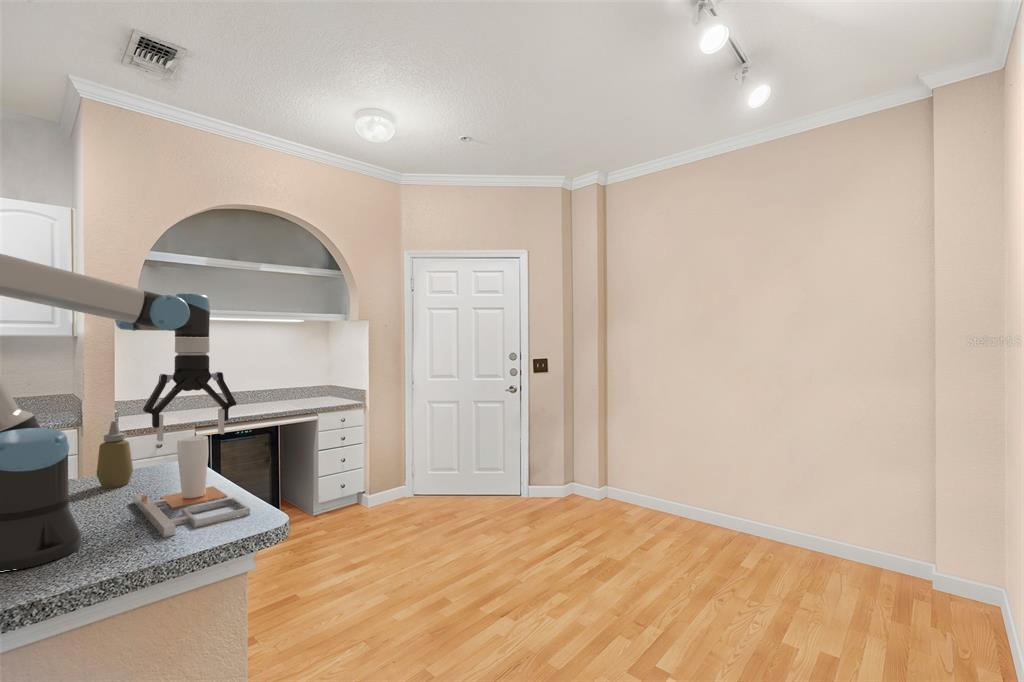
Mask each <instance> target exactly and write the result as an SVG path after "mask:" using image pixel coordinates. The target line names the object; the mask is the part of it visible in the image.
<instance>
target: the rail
mask: <svg viewBox="0 0 1024 682" xmlns="http://www.w3.org/2000/svg"><path fill="white" fill-rule="evenodd" d="M225 497H226V498H225ZM220 498H222V499H220ZM215 499H217V500H215ZM211 500H212V501H211ZM206 501H208V502H206ZM133 503H134V505H136V507H137V508H138V509H139V510H140V512H141V513H143V516H145V517H146V518H147V520H148V521H149V522H150V523H151V524H152V526H154V527H155V529H156V530H157V531H158V532H159V533H160V535H161V536H162V537H164V538H168V537H171V536H175V535H176V526H180V525H184V524H188V523H189V524H190V525H191V526H192V527H194V529H195V528H199V527H203V526H208V525H211V524H217V523H220V522H223V521H227V519H229V520H231V519H230V518H233V519H235V518H234V517H237V516H241V517H243V516H242V515H245V516H247V515H248V514H249V515H251V507H250V506H248V505H246V504H245V503H244V502H242V501H241V500H239V499H238V498H236V497H229V498H228V495H227V494H225V493H224V492H223V491H221V490H220V489H219V488H217V487H215V486H208V487H207V486H206V493H205V495H203V496H201V497H198V498H192V499H185V498H183V497H182V492H177V493H173V494H172V493H171V494H167V495H162V496H160V499H156V500H151V499H150V497H148V495H147V494H145V493H144V492H140V493H134V494H133ZM230 504H233V505H232V506H234V507H235V506H236V507H235V508H237V510H231V511H227V512H223V513H218V514H215V515H210V516H206V517H201V518H196V517H195V516H194V515H193V514H196V513H201V512H204V511H209V509H210V510H213V508H214V509H217V508H218V507H219V508H222V507H221V506H223V507H226V506H225V505H227V506H231V505H230ZM166 505H168V507H170V508H171V510H174V509H179V508H181V516H178V517H175V518H171V519H170V518H169V517H168V516H167V515H166V514H165V513H164V511H162V510H161V509H160V508H159V507H162V506H166ZM238 508H239V509H238ZM237 518H238V517H237Z"/></svg>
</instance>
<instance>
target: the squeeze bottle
mask: <svg viewBox="0 0 1024 682" xmlns="http://www.w3.org/2000/svg"><path fill="white" fill-rule="evenodd" d="M125 439H126V434H125V433H124V432H121V430H120V428H119V424H118V421H117V420H113V421H111V423H110V426H109V431H108V434H104V435H103V441H104V442H102V443H101V444H100V445H99V450H98V456H97V464H96V465H97V466H96V475H95V476H96V477H97V480H98V481H99V484H100V486H101V487H102V488H105V489H115V488H119V487H123V486H126V485H128V484H129V482H130V480H131V477H132V474H133V472H134V467H133V460H132V459H133V458H132V454H131V446H130V442H129V441H128V440H125Z"/></svg>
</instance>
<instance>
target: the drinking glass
mask: <svg viewBox="0 0 1024 682" xmlns="http://www.w3.org/2000/svg"><path fill="white" fill-rule="evenodd" d="M176 447H177V448H176V449H177V450H176V451H177V453H176V454H177V455H176V456H177V464H178V472H179V478H180V488H181V492H182V497H183V498H185V499H192V498H198V497H201V496H203V495H205V493H206V488H207V476H208V463H209V437H208V436H207V435H191V436H185V437H180V438H178V439H177V446H176ZM181 492H180V493H181Z"/></svg>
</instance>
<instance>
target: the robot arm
mask: <svg viewBox="0 0 1024 682" xmlns="http://www.w3.org/2000/svg"><path fill="white" fill-rule="evenodd" d="M0 296H1V297H4V298H5V297H6V298H11V299H15V300H21V301H25V302H30V303H35V304H40V305H44V306H49V307H53V308H54V307H55V308H58V309H63V310H69V311H72V312H78V313H83V314H87V315H92V316H98V317H102V318H107V319H111V320H114V322H115V324H116V327H117V328H118V329H120V330H122V331H123V330H126V331H133V332H136V331H169V332H172V331H174V353H176V355H175V356H174V372H173V374H165V373H160V374H159V375H158V376H159V377H158V383H157V384H156V386H155V387H154V390H153V391H152V393H151V395H150V396H149V397H148V400H147V401H146V403H145V405H144V406H143V408H142V411H143V412H144V413H147V414H150V415H151V426H152V427H153V428H154V429H155V428H156V441H158V442H164V414H163V413H162V411H164V410H165V408H166V407H167V406H168V405H169V404H170V403H171V402H172V400H174V398H175V397H177V395H179V394H180V393H181V392H183V391H184V392H191V391H201V390H203V391H204V392H206V394H208V395H209V396H210V397H211V398H212V400H214V401H215V402H216V403H217V404H218V405H219V406H220V407H221V408H218V409H217V411H218V412H217V433H218V434H220V435H225V422H226V421H229V409H230V408H231V407H235V406H236V405H237V401H236V400H235V398H234V396H233V394H232V393H231V390H230V388H229V387H228V386H227V384H226V381H225V379H224V378H225V377H224V373H223V372H222V371H216V372H213V373H211V372H210V356H209V353H210V323H211V322H210V320H211V319H210V316H211V315H210V314H211V309H210V308H211V307H210V299H209V297H208V296H207V295H205V294H200V293H177V294H175V295H171V294H158V293H155V292H150V291H147V290H142V289H139V288H135V287H131V286H128V285H123V284H120V283H115V282H112V281H109V280H105V279H101V278H96V277H94V276H89V275H86V274H81V273H76V272H74V271H70V270H67V269H62V268H57V267H53V266H51V265H46V264H43V263H38V262H34V261H32V260H31V261H30V260H26V259H23V258H19V257H15V256H11V255H7V254H3V253H0ZM211 378H212V379H213V381H215V382H216V383H217V386H218V387H219V390H220V391H221V393H222V394H223V396H224V398H225V400H226V401H227V402H226V401H225V400H224V399H223V398H222V397H221V396H220V395H219V394H218V393H217V392H216V391H215V390H214V388H212V386H211V385H210V384H208V383H209V381H210V380H211ZM171 380H173V382H174V383H175V385H174V386H173V387H172V388H171V390H170V391H169V392H168V393H167V394H166V395H165V396H164V398H162V399H161V400H160V401H159V402H158V399H159V398H160V396H161V394H162V392H163V391H164V389H165V388H166V385H167V384H169V383H170V382H171ZM156 402H158V404H156ZM155 404H156V406H155ZM154 406H155V407H154ZM69 450H70V445H69V443H68V437H67V434H66V433H65V432H64V431H62V430H59V429H57V428H47V427H41V425H40V423H39V422H38V420H37V418H36V416H35V414H34V413H33V412H30V411H25V410H22V409H20V408H19V406H18V404H17V403H16V401H15V400H14V397H13V396H12V394H11V392H10V391H9V389H8V387H7V386H6V384H5V382H4V380H3V378H2V377H1V376H0V571H4V570H13V569H21V570H24V569H23V568H25V569H29V568H28V567H30V568H33V567H32V566H34V567H37V566H36V565H38V566H40V564H41V565H44V563H45V564H48V563H50V561H51V562H53V560H54V561H56V560H59V559H61V557H62V558H64V557H66V556H68V555H70V554H73V552H75V551H77V550H78V549H80V547H81V546H82V534H81V531H80V529H79V526H78V524H77V522H76V520H75V518H74V516H73V514H72V512H71V509H70V506H69V502H70V501H69V498H70V497H69V496H70V495H69ZM55 559H56V560H55ZM47 562H48V563H47Z"/></svg>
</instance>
